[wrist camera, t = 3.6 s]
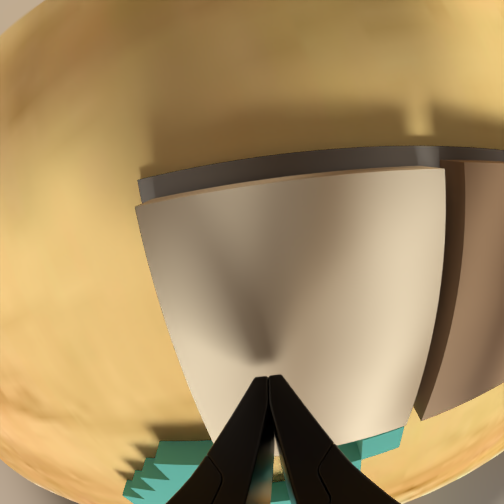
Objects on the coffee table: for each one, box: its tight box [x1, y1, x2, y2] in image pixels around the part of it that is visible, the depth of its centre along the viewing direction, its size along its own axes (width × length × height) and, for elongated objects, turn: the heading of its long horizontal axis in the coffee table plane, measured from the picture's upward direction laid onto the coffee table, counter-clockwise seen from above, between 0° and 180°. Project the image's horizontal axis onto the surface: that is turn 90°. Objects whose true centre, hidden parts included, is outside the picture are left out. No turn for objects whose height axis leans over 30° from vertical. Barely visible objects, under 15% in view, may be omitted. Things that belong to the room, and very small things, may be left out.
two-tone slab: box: [138, 146, 504, 421], centre depth 10 cm, size 20×12×2 cm, turn 98°
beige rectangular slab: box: [135, 166, 446, 456], centre depth 10 cm, size 9×12×2 cm
